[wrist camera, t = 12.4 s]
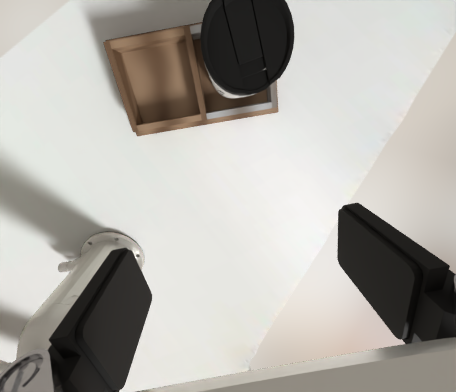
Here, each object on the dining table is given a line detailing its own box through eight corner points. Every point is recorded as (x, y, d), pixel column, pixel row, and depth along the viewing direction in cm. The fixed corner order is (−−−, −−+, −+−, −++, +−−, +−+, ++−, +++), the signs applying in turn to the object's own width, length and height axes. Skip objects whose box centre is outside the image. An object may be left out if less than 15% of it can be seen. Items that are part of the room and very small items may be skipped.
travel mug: (245, 40, 30) (286, -54, 12) (257, 90, 33) (306, 77, 14) (203, 56, 31) (180, -10, 12) (219, 104, 33) (218, 108, 15)
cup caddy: (140, 134, 36) (130, 139, 32) (110, 42, 31) (93, 34, 27) (276, 111, 35) (283, 113, 31) (270, 13, 30) (277, -1, 26)
